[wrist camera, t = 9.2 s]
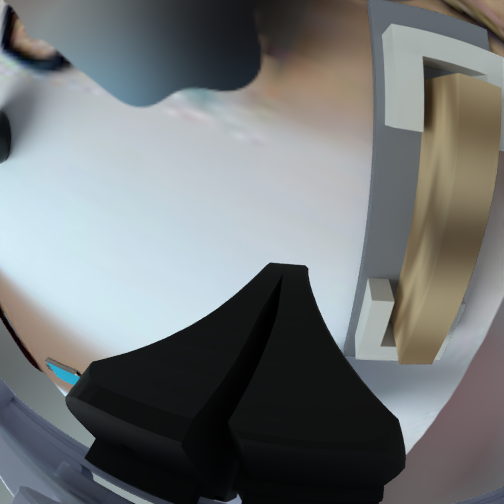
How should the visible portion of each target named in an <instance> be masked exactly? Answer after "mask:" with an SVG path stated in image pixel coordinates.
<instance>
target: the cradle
mask: <svg viewBox="0 0 504 504" xmlns="http://www.w3.org/2000/svg"><path fill="white" fill-rule="evenodd" d="M367 8H368V16H369V25H370V35H371V47H372V63H373V90H374V126H373V154H372V171H371V184H370V196H369V206H368V215H367V224H366V232H365V239H364V246H363V253H362V260H361V266H360V272H359V278H358V283H357V289H356V294H355V299H354V304H353V309H352V314H351V318H350V323H349V327H348V332H347V336H346V340H345V344H344V356H356V359H359V360H387V361H398V355H397V349H396V343H395V337H394V332H393V327H392V321H391V316H390V315H391V312H392V309H393V305H394V297H395V294H396V290H397V286H398V282H399V278H400V274H401V270H402V266H403V262H404V258H405V253H406V248H407V244H408V239H409V234H410V228H411V223H412V217H413V211H414V205H415V198H416V190H417V182H418V174H419V164H420V152H421V137H422V132H423V128H424V80H427V79H431V78H436V77H441V76H446V75H451V74H456V73H461V74H464V75H467V76H470V77H473V78H476V79H479V80H482V81H485V82H487V83H490V84H493V85H495V86H498V87H500V88H501V99H502V111H501V136H500V148H499V150H500V151H504V58H503V57H501V56H499V55H497V54H494V53H492V52H490V50H489V42H488V36H487V30H486V29H483V28H481V27H478V26H476V25H473V24H471V23H468V22H465V21H463V20H460V19H457V18H454V17H451V16H448V15H444V14H441V13H438V12H434V11H430V10H427V9H423V8H419V7H414V6H410V5H405V4H401V3H395V2H390V1H384V0H368V2H367ZM465 306H466V303H465V301H464V299H462V302H461V304H460V307H459V309H458V311H457V314H456V316H455V318H454V321H453V323H452V325H451V327H450V329H449V331H448V334H447V336H446V338H445V340H444V342H443V344H442V346H441V348H440V350H439V351H438V353H437V355H436V357H435V359H434V360H440V358H441V356H442V354H443V352H444V350H445V349H446V347H447V345H448V343H449V341H450V339H451V337H452V335H453V333H454V331H455V329H456V326H457V324H458V322H459V320H460V318H461V316H462V313H463V311H464V309H465Z"/></svg>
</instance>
